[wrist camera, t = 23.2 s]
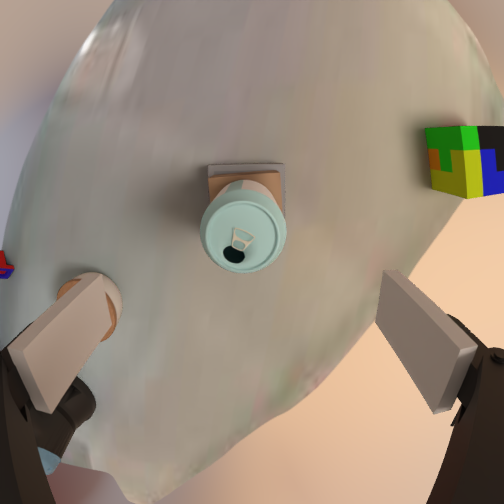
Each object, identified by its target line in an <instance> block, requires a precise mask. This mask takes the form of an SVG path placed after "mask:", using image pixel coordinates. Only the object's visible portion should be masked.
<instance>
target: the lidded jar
mask: <svg viewBox="0 0 504 504" xmlns="http://www.w3.org/2000/svg"><path fill="white" fill-rule="evenodd" d="M87 274H100V273H96V272H88V273H83V274H80V275H78V276H76V277H74V278H73V279H71V280H70V281H68V282H66V283H65V284H64V285H63V286H62V287H61V288H60V290H59V292H58V294H57V300H58V299H60V298H61V297H62V296H63V295H64V294H65V293H66V292H67V291H69V290H70V289H71V288H72V287H73V286H74V285H76V284H77V283H78V282H79V281H80V280H81V279H83V278H84V277H85V276H86V275H87ZM102 279H103V284H104V289H105V294H106V299H107V304H108V309H109V313H110V318H111V322H112V325H111V327H110V328H109V330H108V331H107V332H106V334H105V335H104V337H103V338H102V339H101V341H104V340H106V339H107V338H109V337H110V336H111V334H112V333H113V331H114V329H115V327H116V326H117V324H118V322H119V320H120V317H121V314H122V309H123V302H122V296H121V293H120V291H119V289H118V287H117V286H116V284H115V283H114V282H113V281H112V280H111V279H110V278H108V277H107V276H105V275H103V274H102ZM101 341H100V342H101Z"/></svg>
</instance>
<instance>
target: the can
mask: <svg viewBox="0 0 504 504" xmlns="http://www.w3.org/2000/svg"><path fill="white" fill-rule="evenodd" d="M200 237H201V242H202V245H203V248H204V250H205V252H206V253H207V255H208V256H209V257H210V259H211V260H212V261H213V262H214V263H216V264H217V265H218V266H220V267H221V268H223V269H225V270H228V271H231V272H235V273H252V272H256V271H259V270H261V269H263V268H265V267H267V266H268V265H270V264H271V263H272V262H273V261H274V260H275V259H276V258H277V257H278V255H279V254H280V252H281V251H282V249H283V246H284V244H285V240H286V223H285V219H284V216H283V214H282V212H281V210H280V208H279V206H278V205H277V203H276V201H275V199H274V197H273V195H272V194H271V192H270V191H269V190H268V189H267V188H266V187H265V186H263V185H262V184H260V183H258V182H255V181H252V180H238V181H234V182H232V183H230V184H228V185H227V186H225V187H224V188H223V189H222V190H221V191H220V192H219V193H218V195H217V196H216V197H215V198H214V200H213V201H212V202H211V204H210V205H209V206H208V207H207V209H206V211H205V212H204V214H203V217H202V220H201V225H200Z"/></svg>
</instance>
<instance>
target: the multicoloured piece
mask: <svg viewBox="0 0 504 504" xmlns="http://www.w3.org/2000/svg"><path fill="white" fill-rule="evenodd" d="M13 270H14V266H12V265H7V264H6V260H5V256H4V251H0V278H2V279H8V278H9V276H10V275H11V273H12V272H13Z"/></svg>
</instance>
